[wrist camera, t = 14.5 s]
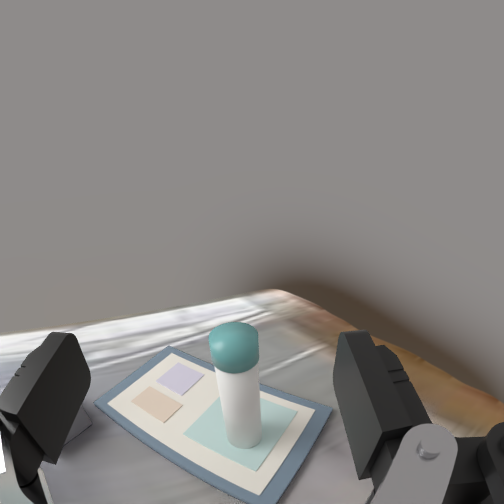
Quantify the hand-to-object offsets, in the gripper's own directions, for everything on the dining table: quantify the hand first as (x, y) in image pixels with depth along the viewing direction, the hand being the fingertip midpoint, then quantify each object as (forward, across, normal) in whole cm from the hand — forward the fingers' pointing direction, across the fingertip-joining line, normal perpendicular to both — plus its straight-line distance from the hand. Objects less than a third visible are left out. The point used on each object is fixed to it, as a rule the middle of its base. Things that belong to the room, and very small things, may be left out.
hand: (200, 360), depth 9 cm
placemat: (+14, +4, +20) cm, 25 cm away
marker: (+11, 0, +19) cm, 22 cm away
